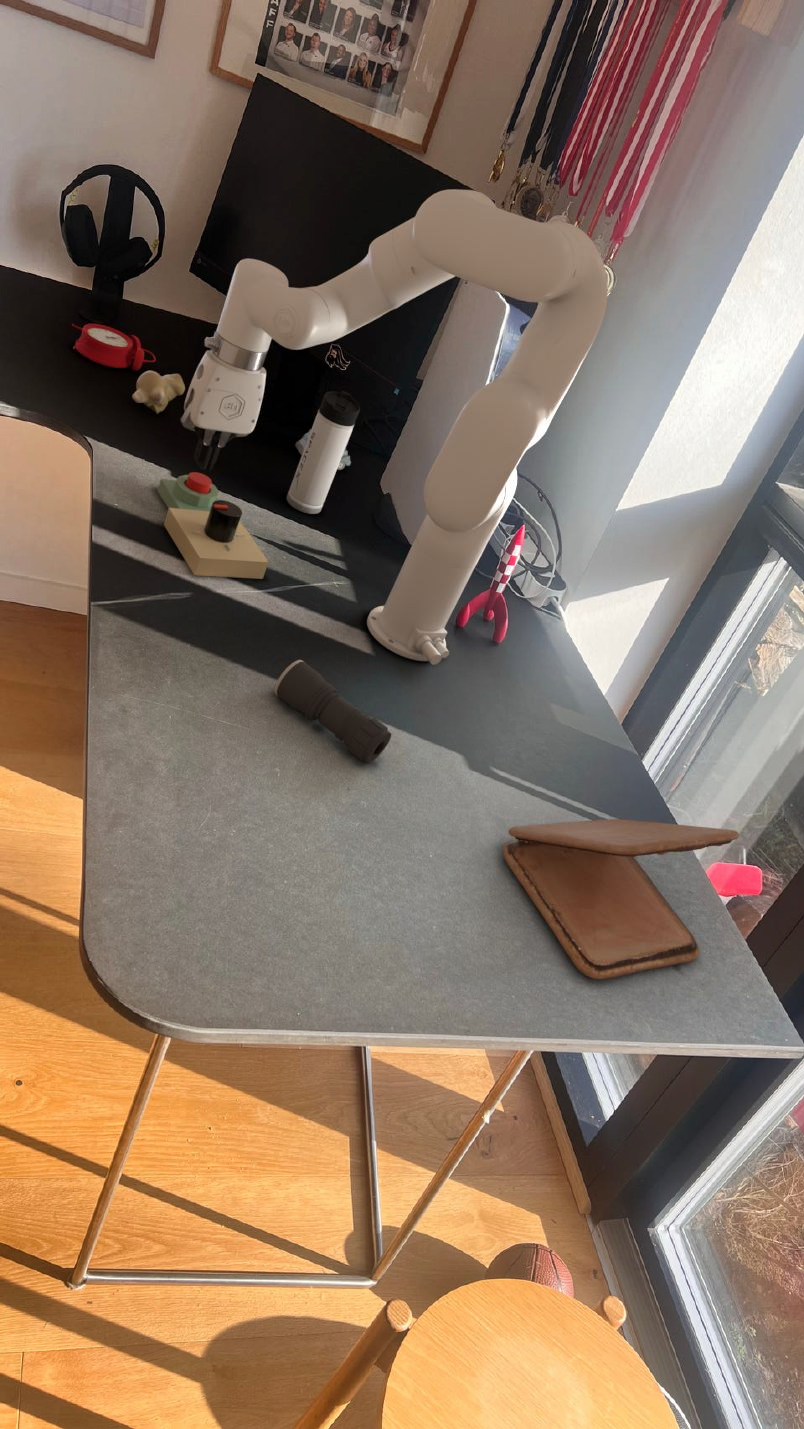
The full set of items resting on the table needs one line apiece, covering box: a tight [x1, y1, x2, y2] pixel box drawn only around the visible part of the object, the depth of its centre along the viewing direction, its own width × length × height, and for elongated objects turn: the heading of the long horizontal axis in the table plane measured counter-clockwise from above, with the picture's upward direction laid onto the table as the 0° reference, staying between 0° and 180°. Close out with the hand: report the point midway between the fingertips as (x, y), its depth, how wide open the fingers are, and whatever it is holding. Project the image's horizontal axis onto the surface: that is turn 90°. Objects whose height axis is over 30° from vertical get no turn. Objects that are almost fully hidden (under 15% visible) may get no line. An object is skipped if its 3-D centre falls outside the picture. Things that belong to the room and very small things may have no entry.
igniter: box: [157, 474, 220, 511], centre depth 157 cm, size 9×8×4 cm
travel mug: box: [286, 390, 361, 515], centre depth 170 cm, size 6×7×20 cm
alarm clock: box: [71, 323, 156, 372], centre depth 190 cm, size 10×6×15 cm
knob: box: [204, 499, 243, 543], centre depth 148 cm, size 4×4×5 cm
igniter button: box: [186, 471, 213, 494], centre depth 156 cm, size 4×4×2 cm
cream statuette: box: [131, 370, 186, 415], centre depth 179 cm, size 8×7×12 cm
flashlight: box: [273, 659, 392, 764], centre depth 126 cm, size 15×5×5 cm, turn 58°
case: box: [502, 818, 740, 980], centre depth 117 cm, size 20×21×16 cm
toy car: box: [294, 428, 352, 471], centre depth 191 cm, size 6×10×5 cm, turn 116°
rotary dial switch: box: [163, 508, 269, 580], centre depth 150 cm, size 13×11×3 cm
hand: (202, 465), depth 154 cm, fingers closed
